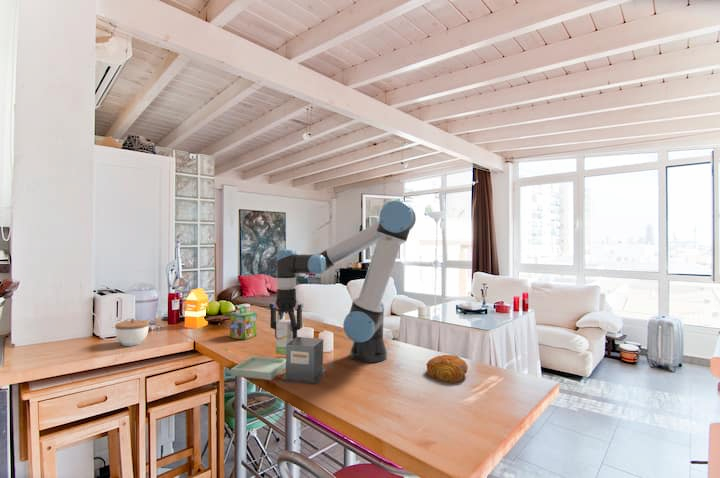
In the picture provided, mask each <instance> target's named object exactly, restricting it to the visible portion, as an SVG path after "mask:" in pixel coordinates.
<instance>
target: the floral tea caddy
mask: <svg viewBox="0 0 720 478" xmlns="http://www.w3.org/2000/svg"><path fill="white" fill-rule="evenodd" d="M238 310H239V311H237V312H233V313H231V314H229V316H230V317H229V318H230V319H229V320H230V321H229V338H230V339H236V340H244V341H245V340H248V339H250V338H254V337H257V317H258V316H257V314H258V313H257V312H252V311H247V306H246V305H242V306H239V307H238ZM243 310H244V311H243Z"/></svg>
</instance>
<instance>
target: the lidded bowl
mask: <svg viewBox="0 0 720 478" xmlns="http://www.w3.org/2000/svg"><path fill="white" fill-rule="evenodd" d="M149 326H150V322H149V320H145V319H135V318H131V319H130V320H125V321H120V322H117V323H116V324H115V326H114V327H115V337H116V340H117V341H118V342H119V343H120V344H121V345H122V346H123V347H133V346H139V345H141V344H142V342H143V341H145V339H146V338H147V336H148V335H149V334H148V333H149V329H150V327H149ZM138 344H139V345H138Z"/></svg>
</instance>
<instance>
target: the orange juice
mask: <svg viewBox="0 0 720 478" xmlns="http://www.w3.org/2000/svg"><path fill="white" fill-rule="evenodd" d="M184 305H185V306H184V307H185V308H184V328H190V329H191V328H192V329H199V328H203V327H205V326H207V325H208V321H206V320H205V319H204V317H205V316H206V309H207V308H206V307H208V308H209V298H208V296H207V293H206V292H205V290H204V288H203V287H201V288H195V289H194V288H193V289H191V291H190V292H189V293H188V296H187V297H186V298H185V304H184Z"/></svg>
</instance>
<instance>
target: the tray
mask: <svg viewBox="0 0 720 478" xmlns="http://www.w3.org/2000/svg"><path fill="white" fill-rule="evenodd" d="M283 370H284V371H285V370H286V358H283V357H282V358H281V357H272V356H270V357H269V356H261V355H260V356H259V355H251V356H249V357H247V358H245V359H244V360H243V361H241V362H240V363H238V364H236V365H235V366H234V367H232V368H230V377H239V378H248V379H255V380H256V379H257V380H266V381H272V380H273V379H274V378H275V377H276V376H278V375H279V374H280V373H282V372H283Z"/></svg>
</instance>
